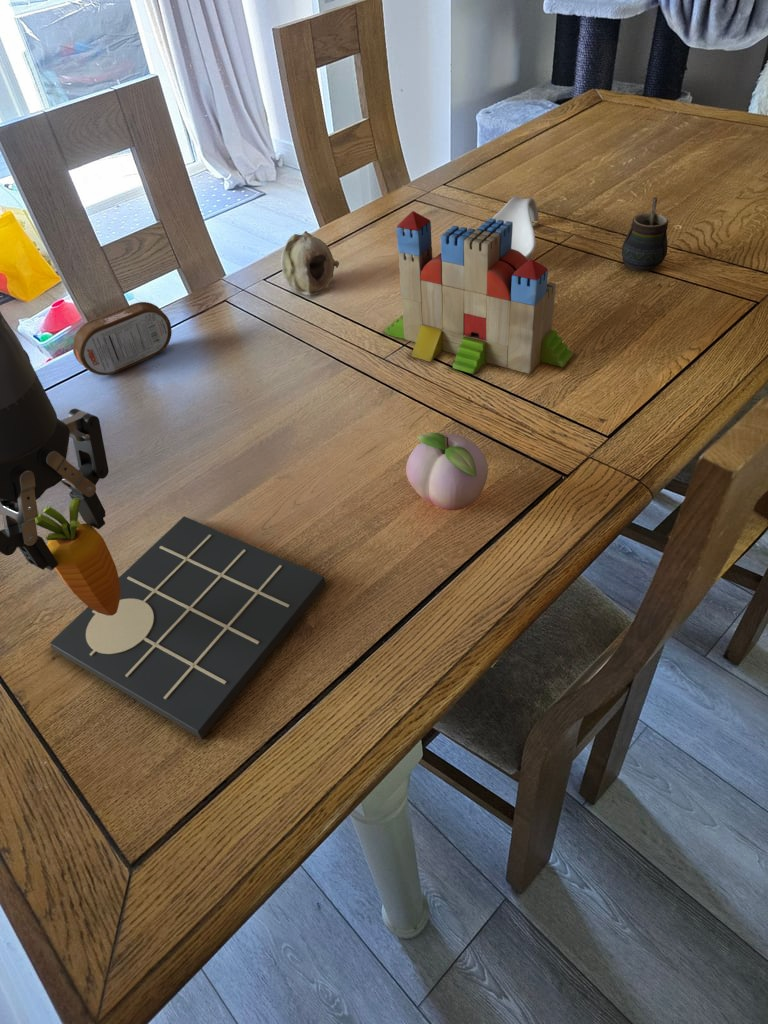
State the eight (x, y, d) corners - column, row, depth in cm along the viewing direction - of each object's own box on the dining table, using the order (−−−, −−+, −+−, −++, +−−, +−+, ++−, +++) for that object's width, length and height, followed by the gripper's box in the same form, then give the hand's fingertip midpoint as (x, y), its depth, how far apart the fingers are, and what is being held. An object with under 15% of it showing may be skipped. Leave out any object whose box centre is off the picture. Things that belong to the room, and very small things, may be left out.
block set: (581, 345, 103) (600, 214, 89) (541, 395, 95) (555, 259, 81) (419, 304, 115) (414, 183, 101) (371, 345, 107) (359, 220, 94)
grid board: (55, 651, 71) (48, 642, 69) (187, 524, 82) (183, 515, 81) (202, 739, 62) (197, 731, 61) (326, 585, 74) (324, 575, 73)
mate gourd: (620, 276, 117) (630, 216, 110) (617, 255, 122) (627, 197, 115) (665, 276, 115) (678, 216, 108) (661, 256, 120) (673, 196, 113)
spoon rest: (524, 285, 117) (527, 243, 112) (457, 277, 121) (457, 237, 115) (555, 227, 132) (559, 188, 127) (495, 221, 136) (496, 183, 130)
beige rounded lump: (291, 306, 123) (261, 258, 116) (308, 276, 127) (280, 228, 120) (334, 297, 118) (306, 246, 111) (351, 266, 122) (324, 216, 116)
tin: (171, 340, 113) (155, 292, 107) (180, 347, 111) (165, 298, 105) (84, 378, 107) (62, 329, 101) (92, 386, 105) (70, 337, 99)
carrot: (135, 587, 71) (79, 480, 61) (141, 624, 68) (83, 516, 57) (86, 603, 70) (21, 497, 60) (89, 641, 67) (21, 535, 56)
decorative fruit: (502, 500, 81) (507, 432, 74) (459, 541, 77) (460, 474, 70) (439, 468, 86) (438, 402, 79) (396, 505, 82) (390, 438, 75)
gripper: (26, 326, 56) (103, 482, 68) (-144, 427, 47) (-22, 585, 59) (91, 346, 52) (159, 506, 64) (-79, 458, 44) (35, 618, 56)
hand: (72, 543), depth 62 cm, fingers closed on carrot, 5 cm apart
